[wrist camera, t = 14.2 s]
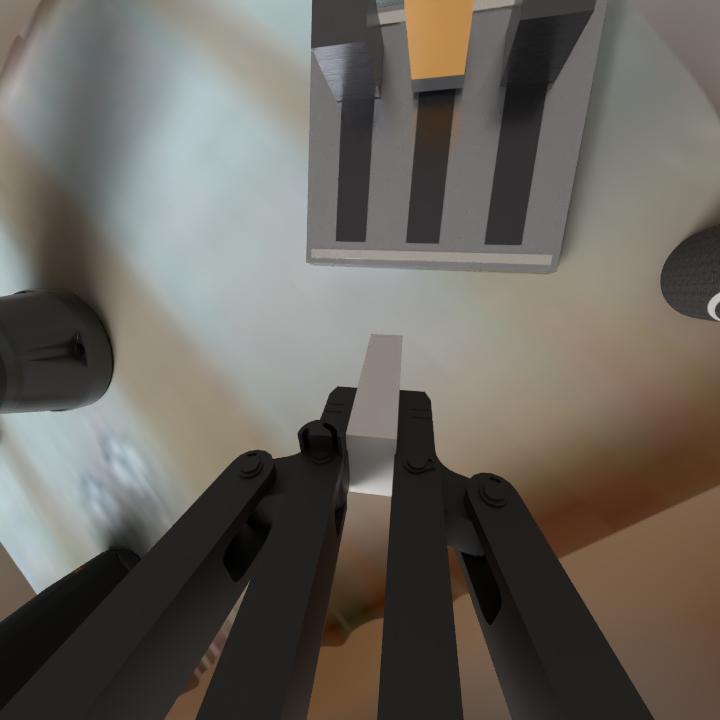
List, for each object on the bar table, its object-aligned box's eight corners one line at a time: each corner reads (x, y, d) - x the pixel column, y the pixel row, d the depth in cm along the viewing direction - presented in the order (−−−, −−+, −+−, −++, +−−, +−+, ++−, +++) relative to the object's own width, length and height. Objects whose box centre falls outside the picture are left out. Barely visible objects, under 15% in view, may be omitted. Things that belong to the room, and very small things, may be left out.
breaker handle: (411, 92, 22) (400, -23, 14) (417, 33, 21) (407, -122, 13) (463, 87, 21) (480, -38, 13) (470, 26, 20) (492, -144, 12)
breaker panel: (314, 265, 28) (277, 253, 21) (321, 40, 25) (279, -61, 18) (546, 274, 24) (591, 262, 17) (596, 1, 20) (679, -152, 13)
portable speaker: (99, 535, 43) (-154, 709, 25) (151, 553, 41) (-81, 758, 23) (103, 582, 45) (-130, 778, 26) (153, 602, 43) (-60, 829, 24)
